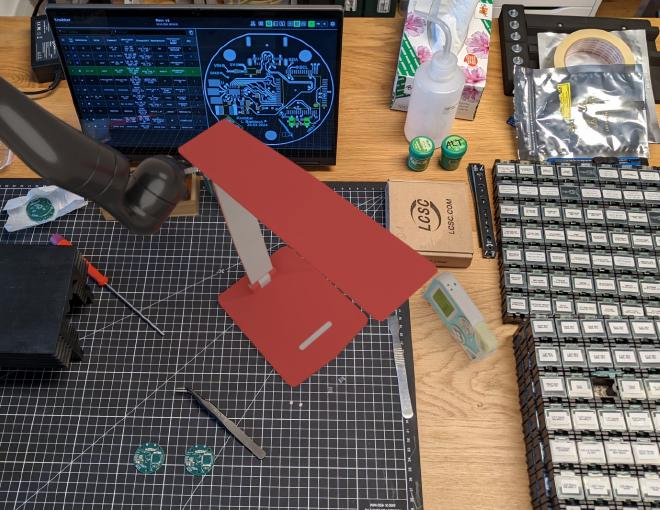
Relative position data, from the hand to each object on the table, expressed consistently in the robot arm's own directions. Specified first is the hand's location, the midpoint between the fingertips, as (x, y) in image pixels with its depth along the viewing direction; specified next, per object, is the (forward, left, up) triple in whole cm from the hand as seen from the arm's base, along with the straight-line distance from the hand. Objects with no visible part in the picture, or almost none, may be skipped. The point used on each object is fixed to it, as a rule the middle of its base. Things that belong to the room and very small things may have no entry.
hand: (167, 168), depth 115 cm
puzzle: (+10, -1, -7) cm, 12 cm away
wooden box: (-4, -2, -7) cm, 8 cm away
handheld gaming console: (+49, -33, -7) cm, 59 cm away
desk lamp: (+23, -30, -7) cm, 38 cm away
